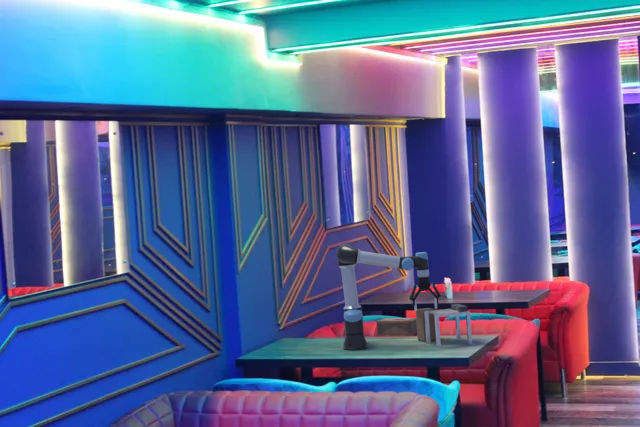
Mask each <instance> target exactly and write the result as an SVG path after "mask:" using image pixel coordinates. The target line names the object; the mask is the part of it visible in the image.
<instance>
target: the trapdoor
mask: <svg viewBox="0 0 640 427" xmlns="http://www.w3.org/2000/svg"><path fill="white" fill-rule="evenodd" d="M446 309H447V310H442V309H436V310H437V311H429V313H431V314H434V315H435V314H446V313H456V312H466V311H468V306H467V305H465V304H461V303H453V304H450V308H446Z"/></svg>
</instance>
